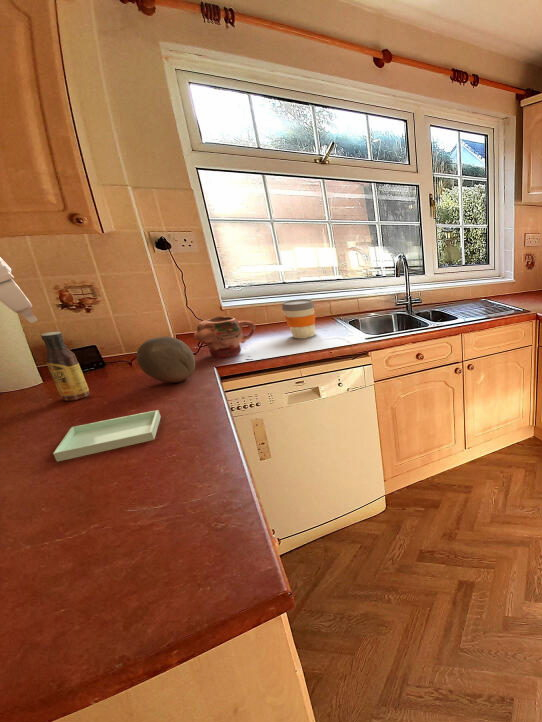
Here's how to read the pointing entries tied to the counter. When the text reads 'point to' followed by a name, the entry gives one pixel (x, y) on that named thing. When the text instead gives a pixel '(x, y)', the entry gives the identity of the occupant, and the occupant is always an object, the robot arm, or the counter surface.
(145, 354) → the cantaloupe
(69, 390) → the sauce bottle
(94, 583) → the counter surface
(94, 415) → the counter surface
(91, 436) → the plastic tray
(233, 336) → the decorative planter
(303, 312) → the reusable coffee cup
